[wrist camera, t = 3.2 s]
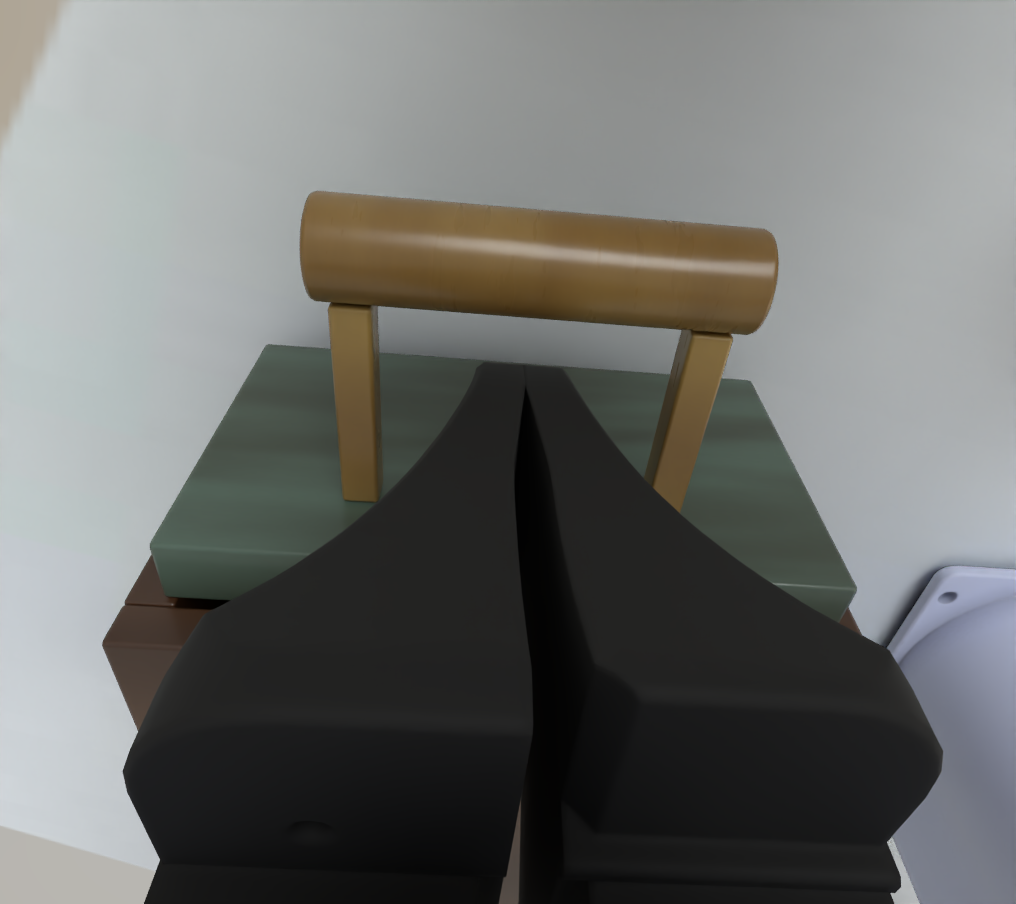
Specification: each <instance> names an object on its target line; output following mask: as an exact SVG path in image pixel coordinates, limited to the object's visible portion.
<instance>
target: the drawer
mask: <svg viewBox="0 0 1016 904" xmlns="http://www.w3.org/2000/svg"><path fill="white" fill-rule="evenodd" d="M300 265H301V273H302V278H303V282H304V286H305V289H306V292H307V294H308V296H309V297H310V298H311V299H313V300H315V301H321V302H331V303H330V305H329V307H328V318H329V331H330V344H331V349H325V348H312V347H299V346H286V345H272V344H268V345H266V346H265V348H264V350H263V351H262V353H261V355H260V357H259V358H258V360H257V362H256V363H255V365H254V367H253V368H252V370H251V372H250V374H249V375H248V377H247V379H246V380H245V382H244V384H243V386H242V387H241V389H240V391H239V392H238V394H237V396H236V397H235V399H234V401H233V403H232V404H231V406H230V408H229V409H228V411H227V413H226V415H225V416H224V418H223V420H222V421H221V423H220V425H219V426H218V428H217V430H216V432H215V433H214V435H213V437H212V438H211V440H210V442H209V444H208V445H207V447H206V449H205V450H204V452H203V454H202V456H201V457H200V459H199V461H198V462H197V464H196V466H195V467H194V469H193V471H192V473H191V474H190V476H189V478H188V479H187V481H186V483H185V485H184V486H183V488H182V490H181V491H180V493H179V495H178V496H177V498H176V500H175V502H174V503H173V505H172V507H171V508H170V510H169V512H168V514H167V515H166V517H165V519H164V520H163V522H162V524H161V525H160V527H159V529H158V531H157V532H156V534H155V536H154V537H153V539H152V541H151V543H150V550H151V553H152V556H153V559H154V562H155V566H156V569H157V572H158V575H159V578H160V582H161V585H162V588H163V591H164V594H165V595H166V596H167V597H175V598H192V599H209V600H225V601H231V600H233V599H235V598H236V597H238V596H240V595H242V594H244V593H246V592H248V591H249V590H251V589H253V588H255V587H257V586H259V585H261V584H262V583H264V582H266V581H268V580H270V579H272V578H274V577H275V576H277V575H279V574H280V573H282V572H284V571H285V570H287V569H289V568H290V567H292V566H293V565H295V564H296V563H298V562H299V561H301V560H302V559H304V558H305V557H307V556H308V555H309V554H311V553H312V552H314V551H315V550H317V549H318V548H320V547H321V546H323V545H324V544H325V543H327V542H328V541H330V540H331V539H333V538H334V537H335V536H337V535H338V534H339V533H341V532H342V531H343V530H345V529H346V528H347V527H348V526H350V525H351V524H352V523H353V522H355V521H356V520H357V519H358V518H359V517H360V516H362V515H363V514H364V513H365V512H366V511H367V510H368V509H370V508H371V507H372V506H373V505H374V504H375V503H377V502H378V501H379V500H380V499H381V498H382V497H383V496H384V495H385V494H386V493H387V492H388V491H389V490H390V489H391V488H392V487H393V486H395V485H396V484H397V483H398V482H399V481H400V479H401V478H402V477H403V476H404V475H405V474H406V473H407V472H408V471H409V470H410V469H411V468H412V467H413V465H414V464H415V463H416V462H417V461H418V460H419V458H420V457H421V456H422V455H423V454H424V452H425V451H426V450H427V449H428V447H429V446H430V445H431V444H432V442H433V441H434V440H435V439H436V437H437V436H438V435H439V434H440V432H441V431H442V429H443V428H444V427H445V425H446V424H447V422H448V421H449V419H450V418H451V416H452V415H453V413H454V412H455V410H456V409H457V407H458V406H459V404H460V402H461V400H462V399H463V397H464V395H465V393H466V392H467V390H468V388H469V386H470V384H471V382H472V379H473V377H474V374H475V371H476V368H477V367H478V366H479V365H481V364H482V363H483V362H491V363H505V364H518V365H532V366H545V367H559V368H563V370H564V371H565V372H566V373H567V375H568V376H569V378H570V379H571V381H572V383H573V384H574V386H575V388H576V389H577V391H578V392H579V394H580V396H581V397H582V399H583V400H584V402H585V403H586V405H587V406H588V408H589V409H590V411H591V412H592V414H593V415H594V416H595V418H596V419H597V421H598V422H599V424H600V425H601V426H602V428H603V429H604V430H605V432H606V433H607V434H608V435H609V437H610V438H611V439H612V441H613V442H614V443H615V445H616V446H617V447H618V449H619V450H620V451H621V452H622V454H623V455H624V456H625V457H626V458H627V460H628V461H629V462H630V463H631V464H632V465H633V467H634V468H635V469H636V470H637V471H638V472H639V473H640V475H641V476H642V477H643V478H644V479H645V480H646V481H647V482H648V483H649V484H650V485H651V486H652V487H653V488H654V489H655V490H656V491H657V492H658V493H659V494H660V495H661V496H662V497H663V498H664V499H665V500H666V501H667V502H668V503H669V504H671V505H672V506H673V507H674V508H675V509H676V510H677V511H678V512H679V513H680V514H681V515H682V516H683V517H685V518H686V519H687V520H688V521H689V522H690V523H692V524H693V525H694V526H695V527H696V528H698V529H699V530H700V531H701V532H702V533H704V534H705V535H706V536H707V537H709V538H710V539H711V540H713V541H714V542H715V543H717V544H718V545H719V546H720V547H722V548H723V549H724V550H726V551H727V552H728V553H730V554H731V555H732V556H733V557H735V558H736V559H737V560H739V561H740V562H742V563H743V564H745V565H746V566H747V567H749V568H750V569H752V570H753V571H755V572H756V573H758V574H759V575H760V576H762V577H763V578H765V579H766V580H768V581H770V582H771V583H773V584H774V585H776V586H777V587H779V588H781V589H782V590H784V591H785V592H787V593H788V594H790V595H792V596H793V597H795V598H796V599H798V600H799V601H801V602H803V603H804V604H806V605H808V606H809V607H811V608H813V609H814V610H816V611H818V612H820V613H822V614H824V615H825V616H827V617H829V618H831V619H833V620H835V621H836V622H838V623H839V622H840V620H841V619H842V617H843V615H844V613H845V611H846V610H847V608H848V606H849V604H850V603H851V601H852V599H853V597H854V595H855V594H856V591H857V588H856V585H855V583H854V581H853V579H852V577H851V575H850V573H849V571H848V570H847V568H846V566H845V564H844V562H843V560H842V558H841V556H840V554H839V552H838V550H837V548H836V546H835V544H834V542H833V540H832V538H831V536H830V534H829V533H828V531H827V529H826V527H825V525H824V523H823V521H822V519H821V517H820V515H819V513H818V511H817V509H816V507H815V505H814V503H813V501H812V499H811V497H810V496H809V494H808V492H807V490H806V488H805V486H804V484H803V482H802V480H801V478H800V476H799V474H798V472H797V470H796V468H795V466H794V464H793V462H792V460H791V459H790V457H789V455H788V453H787V451H786V449H785V447H784V445H783V443H782V441H781V439H780V437H779V435H778V433H777V431H776V429H775V427H774V425H773V423H772V422H771V420H770V418H769V416H768V414H767V412H766V410H765V408H764V406H763V404H762V402H761V400H760V398H759V396H758V394H757V392H756V390H755V388H754V386H753V385H752V383H751V381H748V380H736V379H723V378H722V374H723V371H724V368H725V365H726V361H727V358H728V355H729V352H730V348H731V345H732V342H733V337H732V336H731V334H742V335H748V334H751V333H754V332H755V331H757V330H758V329H759V328H760V326H761V325H762V324H763V322H764V320H765V319H766V317H767V314H768V312H769V310H770V307H771V304H772V301H773V297H774V293H775V289H776V284H777V277H778V249H777V244H776V241H775V238H774V236H773V235H772V233H770V232H769V231H767V230H765V229H761V228H749V227H737V226H725V225H714V224H702V223H690V222H678V221H667V220H655V219H643V218H631V217H620V216H608V215H596V214H584V213H573V212H561V211H549V210H537V209H526V208H514V207H502V206H490V205H479V204H467V203H455V202H443V201H432V200H420V199H408V198H396V197H385V196H373V195H361V194H349V193H338V192H326V191H315V192H312V193H310V194H309V196H308V198H307V200H306V203H305V206H304V209H303V214H302V219H301V228H300ZM378 306H385V307H398V308H410V309H423V310H436V311H449V312H461V313H474V314H487V315H500V316H513V317H525V318H538V319H551V320H564V321H576V322H589V323H602V324H615V325H627V326H640V327H653V328H666V329H678V330H682V331H681V335H680V339H679V343H678V346H677V350H676V354H675V358H674V362H673V366H672V370H671V374H656V373H643V372H630V371H617V370H603V369H590V368H577V367H564V366H550V365H537V364H524V363H511V362H497V361H484V360H471V359H458V358H445V357H431V356H418V355H405V354H392V353H379V334H378Z"/></svg>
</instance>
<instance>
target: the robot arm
mask: <svg viewBox="0 0 1016 904" xmlns="http://www.w3.org/2000/svg"><path fill="white" fill-rule="evenodd" d="M123 775H124V779H125V784H126V788H127V793H128V795H129V797H130V799H131V801H132V803H133V805H134V807H135V809H136V811H137V813H138V815H139V817H140V819H141V821H142V823H143V825H144V828H145V830H146V832H147V834H148V836H149V838H150V840H151V842H152V844H153V846H154V848H155V850H156V852H157V854H158V856H159V858H160V862H159V865H158V867H157V870H156V873H155V875H154V878H153V881H152V883H151V886H150V889H149V891H148V894H147V897H146V900H145V902H144V904H499V900H500V894H501V889H502V883H503V878H504V877H506V876H507V870H508V865H509V859H510V854H511V849H512V843H513V838H514V832H515V827H516V822H517V816H518V811H519V805H520V800H521V815H520V864H519V902H518V904H894V902H893V899H892V897H891V894H890V893H895V892H896V891H897V890H898V889H899V888H900V887H901V876H900V874H899V871H898V869H897V866H896V864H895V861H894V859H893V856H892V854H891V851H890V849H889V847H888V844H887V841H888V840H889V839H890V838H891V837H893V839H894V842H895V844H896V847H897V849H898V851H899V854H900V856H901V859H902V861H903V864H904V866H905V868H906V871H907V873H908V876H909V878H910V881H911V883H912V885H913V888H914V890H915V893H916V895H917V898H918V900H919V902H920V904H1016V569H1002V568H987V567H971V566H948V567H945V568H942V569H941V570H939V571H937V572H936V573H935V575H934V576H933V577H932V579H931V580H930V582H929V583H928V585H927V586H926V588H925V590H924V591H923V593H922V594H921V596H920V597H919V599H918V600H917V602H916V603H915V605H914V607H913V608H912V610H911V611H910V613H909V614H908V616H907V617H906V619H905V621H904V622H903V624H902V625H901V627H900V628H899V630H898V631H897V633H896V634H895V636H894V638H893V639H892V641H891V642H890V644H889V645H888V647H887V648H884V647H882V646H880V645H879V644H877V643H875V642H873V641H871V640H869V639H868V638H866V637H864V636H862V635H860V634H858V633H857V632H855V631H853V630H851V629H849V628H847V627H846V626H844V625H842V624H840V623H838V622H836V621H835V620H833V619H831V618H829V617H827V616H825V615H824V614H822V613H820V612H818V611H816V610H814V609H813V608H811V607H809V606H808V605H806V604H804V603H803V602H801V601H799V600H798V599H796V598H795V597H793V596H792V595H790V594H788V593H787V592H785V591H784V590H782V589H781V588H779V587H777V586H776V585H774V584H773V583H771V582H770V581H768V580H766V579H765V578H763V577H762V576H760V575H759V574H758V573H756V572H755V571H753V570H752V569H750V568H749V567H747V566H746V565H745V564H743V563H742V562H740V561H739V560H737V559H736V558H735V557H733V556H732V555H731V554H730V553H728V552H727V551H726V550H724V549H723V548H722V547H720V546H719V545H718V544H717V543H715V542H714V541H713V540H711V539H710V538H709V537H707V536H706V535H705V534H704V533H702V532H701V531H700V530H699V529H698V528H696V527H695V526H694V525H693V524H692V523H690V522H689V521H688V520H687V519H686V518H685V517H683V516H682V515H681V514H680V513H679V512H678V511H677V510H676V509H675V508H674V507H673V506H672V505H671V504H669V503H668V502H667V501H666V500H665V499H664V498H663V497H662V496H661V495H660V494H659V493H658V492H657V491H656V490H655V489H654V488H653V487H652V486H651V485H650V484H649V483H648V482H647V481H646V480H645V479H644V478H643V477H642V476H641V475H640V473H639V472H638V471H637V470H636V469H635V468H634V467H633V465H632V464H631V463H630V462H629V461H628V460H627V458H626V457H625V456H624V455H623V454H622V452H621V451H620V450H619V449H618V447H617V446H616V445H615V443H614V442H613V441H612V439H611V438H610V437H609V435H608V434H607V433H606V432H605V430H604V429H603V428H602V426H601V425H600V424H599V422H598V421H597V419H596V418H595V416H594V415H593V414H592V412H591V411H590V409H589V408H588V406H587V405H586V403H585V402H584V400H583V399H582V397H581V396H580V394H579V392H578V391H577V389H576V388H575V386H574V384H573V383H572V381H571V379H570V378H569V376H568V375H567V373H566V372H565V371H564V370H563V368H559V367H545V366H532V365H518V364H505V363H491V362H483V363H482V364H481V365H479V366H478V367H477V368H476V371H475V374H474V377H473V379H472V382H471V384H470V386H469V388H468V390H467V392H466V393H465V395H464V397H463V399H462V400H461V402H460V404H459V406H458V407H457V409H456V410H455V412H454V413H453V415H452V416H451V418H450V419H449V421H448V422H447V424H446V425H445V427H444V428H443V429H442V431H441V432H440V434H439V435H438V436H437V437H436V439H435V440H434V441H433V442H432V444H431V445H430V446H429V447H428V449H427V450H426V451H425V452H424V454H423V455H422V456H421V457H420V458H419V460H418V461H417V462H416V463H415V464H414V465H413V467H412V468H411V469H410V470H409V471H408V472H407V473H406V474H405V475H404V476H403V477H402V478H401V479H400V481H399V482H398V483H397V484H396V485H395V486H393V487H392V488H391V489H390V490H389V491H388V492H387V493H386V494H385V495H384V496H383V497H382V498H381V499H380V500H379V501H378V502H377V503H375V504H374V505H373V506H372V507H371V508H370V509H368V510H367V511H366V512H365V513H364V514H363V515H362V516H360V517H359V518H358V519H357V520H356V521H355V522H353V523H352V524H351V525H350V526H348V527H347V528H346V529H345V530H343V531H342V532H341V533H339V534H338V535H337V536H335V537H334V538H333V539H331V540H330V541H328V542H327V543H325V544H324V545H323V546H321V547H320V548H318V549H317V550H315V551H314V552H312V553H311V554H309V555H308V556H307V557H305V558H304V559H302V560H301V561H299V562H298V563H296V564H295V565H293V566H292V567H290V568H289V569H287V570H285V571H284V572H282V573H280V574H279V575H277V576H275V577H274V578H272V579H270V580H268V581H266V582H264V583H262V584H261V585H259V586H257V587H255V588H253V589H251V590H249V591H248V592H246V593H244V594H242V595H240V596H238V597H236V598H235V599H233V600H231V601H229V602H227V603H225V604H223V605H221V606H219V607H217V608H215V609H213V610H211V611H209V612H207V613H205V614H204V615H203V616H202V618H201V619H200V621H199V622H198V624H197V625H196V627H195V628H194V630H193V631H192V633H191V634H190V636H189V638H188V639H187V641H186V642H185V644H184V645H183V647H182V648H181V650H180V652H179V653H178V655H177V657H176V658H175V660H174V661H173V663H172V665H171V666H170V668H169V669H168V671H167V672H166V674H165V676H164V678H163V679H162V681H161V683H160V685H159V687H158V689H157V691H156V693H155V695H154V698H153V700H152V702H151V704H150V707H149V709H148V711H147V713H146V716H145V718H144V720H143V722H142V724H141V727H140V729H139V731H138V733H137V736H136V738H135V740H134V742H133V745H132V747H131V749H130V752H129V754H128V757H127V760H126V763H125V766H124V769H123Z"/></svg>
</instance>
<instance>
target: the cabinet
mask: <svg viewBox="0 0 1016 904" xmlns="http://www.w3.org/2000/svg"><path fill="white" fill-rule="evenodd" d="M227 602H229V601H225V600H209V599H192V598H175V597H167V596H166V595H165V594H164V591H163V588H162V585H161V582H160V578H159V575H158V572H157V569H156V566H155V562H154V559H153V556H152V555H151V556H150V558H149V560H148V562H147V563H146V565H145V567H144V568H143V570H142V572H141V574H140V575H139V577H138V579H137V581H136V582H135V584H134V586H133V588H132V589H131V591H130V593H129V595H128V596H127V598H126V600H125V605H124V606H123V607H122V608H121V610H120V612H119V614H118V615H117V617H116V619H115V621H114V622H113V624H112V626H111V628H110V629H109V631H108V633H107V635H106V636H105V638H104V640H103V644H102V646H103V649H104V651H105V653H106V656H107V658H108V660H109V663H110V665H111V668H112V670H113V672H114V675H115V677H116V680H117V682H118V684H119V687H120V689H121V691H122V694H123V696H124V699H125V701H126V703H127V706H128V708H129V710H130V713H131V715H132V718H133V720H134V722H135V725H136V727H137V729H138V731H139V729H140V727H141V724H142V722H143V720H144V718H145V716H146V713H147V711H148V709H149V707H150V704H151V702H152V700H153V698H154V695H155V693H156V691H157V689H158V687H159V685H160V683H161V681H162V679H163V678H164V676H165V674H166V672H167V671H168V669H169V668H170V666H171V665H172V663H173V661H174V660H175V658H176V657H177V655H178V653H179V652H180V650H181V648H182V647H183V645H184V644H185V642H186V641H187V639H188V638H189V636H190V634H191V633H192V631H193V630H194V628H195V627H196V625H197V624H198V622H199V621H200V619H201V618H202V616H203V615H204V614H205V613H207V612H209V611H211V610H213V609H215V608H217V607H219V606H221V605H223V604H225V603H227ZM839 623H840V624H842V625H844V626H846V627H847V628H849V629H851V630H853V631H855V632H857V633H858V634H860V635H862V634H861V632H860V630H859V628H858V626H857V624H856V622H855V620H854V618H853V616H852V614H851V612H850V610H849V608H847V610H846V611H845V613H844V615H843V617H842V619H841V620H840V622H839ZM520 815H521V800H520V805H519V811H518V816H517V822H516V827H515V832H514V838H513V843H512V849H511V854H510V859H509V865H508V870H507V876H506V877H504V878H503V883H502V889H501V894H500V900H499V904H518V902H519V864H520Z"/></svg>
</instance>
